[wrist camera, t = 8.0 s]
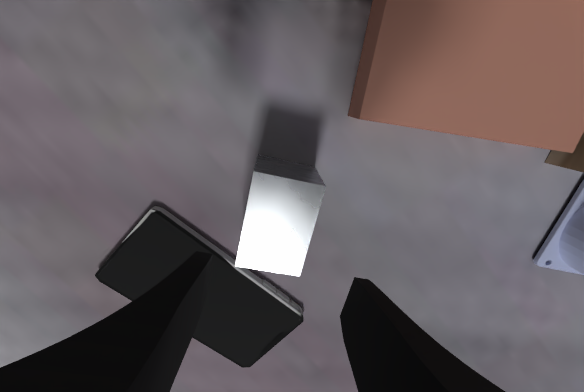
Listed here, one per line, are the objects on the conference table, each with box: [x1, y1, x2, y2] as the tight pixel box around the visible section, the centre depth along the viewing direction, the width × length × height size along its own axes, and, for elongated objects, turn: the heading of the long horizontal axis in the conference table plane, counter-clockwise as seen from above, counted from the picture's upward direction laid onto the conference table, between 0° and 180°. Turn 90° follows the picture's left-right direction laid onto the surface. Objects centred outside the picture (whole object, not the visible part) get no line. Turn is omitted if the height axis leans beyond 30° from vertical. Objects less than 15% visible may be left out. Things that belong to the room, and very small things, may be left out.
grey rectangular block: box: [235, 154, 326, 276], centre depth 18 cm, size 4×6×4 cm, turn 167°
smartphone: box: [95, 206, 303, 367], centre depth 22 cm, size 8×1×15 cm
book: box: [348, 0, 584, 153], centre depth 16 cm, size 14×8×3 cm, turn 81°
